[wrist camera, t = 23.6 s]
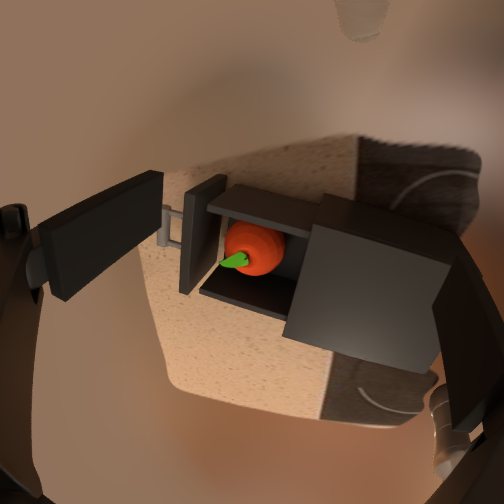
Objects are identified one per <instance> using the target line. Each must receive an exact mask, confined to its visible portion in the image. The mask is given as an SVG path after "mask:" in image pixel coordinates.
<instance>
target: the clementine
mask: <svg viewBox="0 0 504 504" xmlns="http://www.w3.org/2000/svg"><path fill="white" fill-rule="evenodd" d="M224 246H225V254H226V256H227V259H225V260H223V261H221V262H220V261H219V263H220V264H221V265H222V266H224V267H229V268H235V269H237V270H238V271H240V272H242V273H243V274H247V275H250V276H259V275H264V274H267V273H269V272H271V271H273V270H274V269H275V268H276V267H277V266H278V265H279V264H280V262H281V261H282V259H283V257H284V254H285V249H286V239H285V236H284V233H283V232H282V231H278V230H275V229H271V228H267V227H264V226H260V225H256V224H253V223H249V222H245V221H242V220H237V221H235V222H234V223H233V224H232V225H231V227H230V228H229V230H228V232H227V234H226V236H225V243H224Z"/></svg>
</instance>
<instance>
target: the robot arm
mask: <svg viewBox="0 0 504 504" xmlns="http://www.w3.org/2000/svg"><path fill="white" fill-rule="evenodd" d="M163 177H164V173H163V172H158V171H153V170H148V171H146V172H144V173H141V174H139V175H137V176H135V177H132V178H130V179H128V180H126V181H124V182H121V183H119V184H117V185H115V186H112V187H110V188H108V189H106V190H104V191H102V192H100V193H98V194H96V195H93V196H91V197H89V198H87V199H85V200H83V201H81V202H79V203H77V204H75V205H73V206H71V207H70V208H68V209H66V210H64V211H62V212H60V213H58V214H56V215H54V216H52V217H51V218H49V219H47V220H45V221H43V222H41V223H40V224H38V226H36V227H34V228H33V229H31V230H30V224H29V218H28V211H27V206H26V205H24V204H20V203H19V204H10V205H6V206H4V207H2V208H0V504H55V503H53V501H51V500H50V499H48V498H47V497H46V496H44V495H43V491H42V486H41V482H40V479H39V476H38V474H37V471H36V469H35V467H34V464H33V459H32V439H31V411H32V410H31V409H32V386H33V385H32V384H33V371H34V360H35V350H36V342H37V334H38V327H39V320H40V313H41V307H42V302H43V296H44V292H43V287H42V285H43V284H44V283H46V282H47V281H49V285H50V289H51V293H52V295H54V296H56V297H57V298H59V299H61V300H63V301H64V302H66V301H68V300H69V299H70V298H71V297H72V296H74V295H75V294H76V293H77V292H78V291H80V290H81V289H82V288H83V287H85V286H86V285H87V284H88V283H89V282H90V281H92V280H93V279H94V278H96V277H97V276H98V275H99V274H101V273H102V272H103V271H104V270H106V269H107V268H108V267H109V266H111V265H112V264H113V263H115V262H116V261H117V260H119V259H120V258H121V257H122V256H124V255H125V254H126V253H128V252H129V251H130V250H132V249H133V248H134V247H136V246H137V245H138V244H140V243H141V242H142V241H144V240H145V239H146V238H148V237H149V236H150V235H152V234H153V233H154V232H156V231H157V230H158V229H160V228H161V227H162V198H163ZM431 307H432V311H433V315H434V320H435V324H436V329H437V333H438V338H439V343H440V348H441V353H442V359H443V364H444V370H445V376H446V383H447V390H448V397H449V405H450V414H451V423H452V431H459V432H468V433H471V432H472V431H473V430H474V429H475V428H476V427H477V426H478V425H479V424H480V423H481V422H482V424H483V430H484V431H483V432H482V433H481V434H480V435H479V436H478V437H477V438H476V439H474V440H473V441H472V442H471V443H470V444H469V445H468V446H466V447H465V448H464V449H463V451H464V452H465V451H466V450H468V451H467V452H466V453H465V455H464V456H463V457H462V459H461V460H460V461H459V463H458V464H457V465H456V467H455V468H454V469H453V471H452V472H451V473H450V474H449V476H448V477H447V478H446V479H445V481H444V482H443V483H442V484H441V485H440V487H439V488H438V489H437V490H436V491H435V493H434V494H433V495H432V496H431V497H430V498H429V499H428V500H427V502H426V503H425V504H504V322H503V320H502V318H501V316H500V313H499V311H498V309H497V307H496V305H495V303H494V301H493V299H492V297H491V295H490V293H489V291H488V289H487V287H486V285H485V283H484V281H483V279H482V277H481V275H480V274H479V272H478V270H477V268H476V266H475V264H474V263H473V261H472V259H471V258H468V257H465V256H462V255H459V254H457V255H456V257H455V259H454V261H453V264H452V266H451V268H450V270H449V272H448V274H447V276H446V279H445V281H444V283H443V285H442V287H441V289H440V291H439V293H438V295H437V297H436V299H435V301H434V302H433V304H432V306H431Z"/></svg>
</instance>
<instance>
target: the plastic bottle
mask: <svg viewBox="0 0 504 504" xmlns="http://www.w3.org/2000/svg"><path fill="white" fill-rule="evenodd" d="M429 408H430V412H431V415H432V417H433V422H434V429H435V447H434V454H433V461H432V469H433V472H434V473H435V475H436V476H437V477H438V478H439V479H440V480H442V481H443V482H444V481H445V479H446V478H447V477H448V476H449V474H450V473H451V472H452V471H453V469H454V468H455V467H456V465H457V464H458V463H459V461H460V460H461V459H462V457H463V456H464V455H465V453H466V452H467V451H468V450H466V451H465V452H464V451H463V449H464V448H465V447H466V446H468V445H469V444H470V443H471V441H470V437H469V433H468V432H459V431H452V423H451V414H450V405H449V397H448V390H447V383H446V384H443V385H441V386H439V387H437V388H436V389H435V390H434V392H433V393H432V395H431V397H430V403H429Z"/></svg>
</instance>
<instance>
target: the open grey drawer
mask: <svg viewBox="0 0 504 504" xmlns="http://www.w3.org/2000/svg"><path fill="white" fill-rule="evenodd" d="M226 181H227V175H222V174H217V175H215V176H214V177H212V178H210V179H208V180H206V181H205V182H203V183H201V184H199V185H197V186H196V187H194V188H192V189H190V190H189V191H187V192H185V196H184V209H183V212H179V211H176V210H171V206H169V205H162V227H161V228H160V229H158V230H157V245H158V246H160V247H167V246H171V247H175V248H178V249H181V257H180V280H179V293H182V294H185V295H188V294H189V293H190V292H191V291H192V290H193V289H194V287H195V286H196V285H197V284H198V283H199V282H200V280H201V279H202V278H203V277H204V276H205V275H206V273H207V272H208V271H209V270H210V269H211V268H212V266H213V265H214V264H215V263H216V260H217V252H218V243H219V235H220V227H221V219H222V215H223V216H227V217H229V222H228V230H229V228H230V227H231V225H232V224H233V223H234V222H235V221H237V220H242V221H245V222H249V223H253V224H256V225H260V226H264V227H267V228H271V229H275V230H278V231H282V232H283V233H284V236H285V239H286V249H285V254H284V257H283V259H282V261H281V262H280V264H279V265H278V266H277V267H276V268H275V269H274V270H273V271H271V272H269V273H267V274H264V275H259V276H250V275H247V274H243V273H242V272H240V271H238V270H237V269H235V268H229V267H224V266H222V265H221V264H219V265H218V267H217V268H216V269H215V270H214V271H213V273H212V274H211V275H210V276H209V277H208V279H207V280H206V281H205V282H204V283H203V285H202V286H201V287H200V289H199V293H200V294H202V295H205V296H208V297H211V298H214V299H217V300H220V301H223V302H226V303H229V304H232V305H235V306H238V307H241V308H245V309H248V310H251V311H254V312H257V313H260V314H263V315H267V316H270V317H273V318H276V319H280V320H283V321H286V320H287V317H288V313H289V310H290V306H291V303H292V299H293V296H294V292H295V289H296V285H297V282H298V278H299V274H300V271H301V267H302V263H303V259H304V256H305V252H306V248H307V244H308V241H309V237H310V233H311V229H312V225H313V222H314V219H315V216H316V214H317V211H318V208H319V205H316V204H313V203H309V202H305V201H302V200H298V199H294V198H290V197H286V196H283V195H279V194H275V193H271V192H267V191H263V190H259V189H255V188H251V187H246V186H242V185H238V184H235V185H234V186H232V187H231V188H229V189H228V190H227V191H225V188H226ZM171 216H173V217H177V218H181V219H183V223H182V239H181V243H180V242H177V241H174V240H170V221H171ZM228 230H227V232H228ZM225 259H227V256H226V254H225V252H224V259H223V260H225Z"/></svg>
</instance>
